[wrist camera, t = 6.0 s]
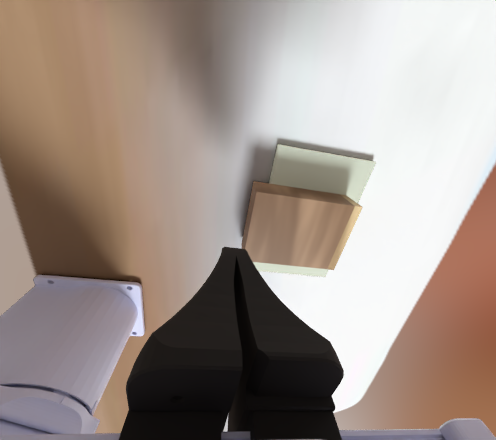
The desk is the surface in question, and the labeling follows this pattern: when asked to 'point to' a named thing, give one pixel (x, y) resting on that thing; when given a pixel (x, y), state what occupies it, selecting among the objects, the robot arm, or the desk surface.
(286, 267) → the sage mat
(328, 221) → the walnut slab
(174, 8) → the desk surface
